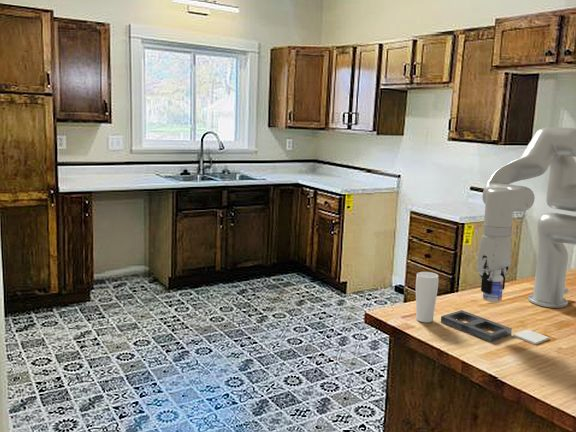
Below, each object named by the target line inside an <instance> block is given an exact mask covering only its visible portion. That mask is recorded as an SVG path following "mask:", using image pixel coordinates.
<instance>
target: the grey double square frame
mask: <svg viewBox="0 0 576 432" xmlns="http://www.w3.org/2000/svg"><path fill="white" fill-rule="evenodd" d="M456 319H457V320H456ZM460 319H462V320H464V319H465V321H467V322H463V321H460ZM440 323H441V324H444V325H447V326H449V327H450V328H454V329H456V330H459V331H461V332H463V333H467V334H469V335H472V336H474V337H476V338H479V339H482V340H483V341H486V342H489V343H493V342H495V341H498V340H501V339H503V338H507V337H509V336H511V335H512V331H513V329H512V327H509V326H506V325H504V324H501V323H498V322H496V321H492V320H490V319H487V318H484V317H481V316H479V315H476V314H473V313H470V312H468V311H466V310H462V309H460V310H458V311H454V312H451V313H448V314H444V315H441V317H440ZM484 327H486V329H488V328H489V329H488V330H490V329H491V331H493V330H494V331H493V332H489V331H487V330H484Z"/></svg>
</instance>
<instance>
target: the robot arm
mask: <svg viewBox="0 0 576 432" xmlns="http://www.w3.org/2000/svg"><path fill="white" fill-rule="evenodd" d="M574 157H576V127H561V126H560V127H556V126H549V127H548V126H547V127H542V128H540V129H538V130H537V131H536V132H535V133H534V135H533V136H532V138H531V139H530V141H529V143H528V144H527V146H526V147H525V149H524V150H523V152H522V153H521V155H520V157H518V158H516V159H514V160H512V161H510V162H509V163H507V164H505V165H503V166H500V167H499V168H498V169H497V170H495V171H494V172H493V173H492V175H491V176H490V178H489V179H488V181H487V182H486V184H485V187H484V189H483V191H482V201H483V204H484V208H485V209H484V223H483V232H482V233H483V234H482V236H481V239H480V242H479V247H478V255H477V261H476V262H477V265H476V266H477V269H476V272H477V273H478V274H479V276H480V279H481V286H480V292H482V293H483V292H485V293H488V294H491V293H492V281H491V278H492V274H493V271H495V270H499V269H501V274H500V275H501V276H503V290H505V286H506V276H507V275H508V274H507V272H508V271H509V268H510V266H511V265H512V260H511V258H512V230H513V229H512V227H513V217H514V213H522V212H526V211H528V210H530V209H531V207H533V205H534V203H535V193H534V191H533V190H532V189H531V188H529V187H527V186H524V185H516V184H515V185H514V184H513V183H516V182H520V181H525V180H530V179H533V178H537V177H540V176H542V175H544V174H545V173H546V172H547V170H548V169H549V175H548V181H547V191H546V199H545V201H546V204H547V206H548V207H549V208H551V209H555V210H559V211H566V212H573V213H575V212H576V160H575V158H574ZM537 237H538V238H537V239H538V245H537V246H538V249H537V257H536V265H535V268H536V269H535V277H534V287H533V293H531V294H529V295H528V298H527V300H528V301H529V302H530V303H532V304H534V305H537V306H541V307H545V308H550V309H551V308H553V309H559V308H560V309H561V308H566V307H567V306H568V304H569V301H568V300H567V299H566V298H565V294H568V293H569V288H567V287H566V280H567V278H566V277H567V270H568V261H569V253H568V250H567V247H566V246H565V244H570V245H573V246H574V245H575V246H576V215H570V214H566V213H565V214H564V213H558V212H547V213H544V214H542V215H541V216H540V217H539V219H538V221H537ZM487 267H489V269H487ZM487 271H488V272H489V274H487ZM503 290H502V291H503Z"/></svg>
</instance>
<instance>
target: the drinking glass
mask: <svg viewBox="0 0 576 432" xmlns="http://www.w3.org/2000/svg"><path fill="white" fill-rule="evenodd" d="M438 288H439V274H437V273H435V272H430V271H420V272H419V271H418V272H416V278H415V309H416V310H415V311H416V315H415V318H416V320H417V321H418V322H420V323H431V322H433V321H434V316H435V314H434V313H435V310H436V309H435V307H436V303H437V296H438Z"/></svg>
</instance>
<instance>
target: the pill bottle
mask: <svg viewBox="0 0 576 432" xmlns="http://www.w3.org/2000/svg"><path fill="white" fill-rule="evenodd" d="M487 269H489V267H487ZM486 273H487V274H489V272H488V271H486ZM500 274H501V269H499V270H495V271H493V274H492V278H491V281H492V293H491V294H488V293H485V292H482V299H483V300H484V301H486V302H488V303H500V302H501V301H502V300H503V276H501V275H500Z"/></svg>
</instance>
